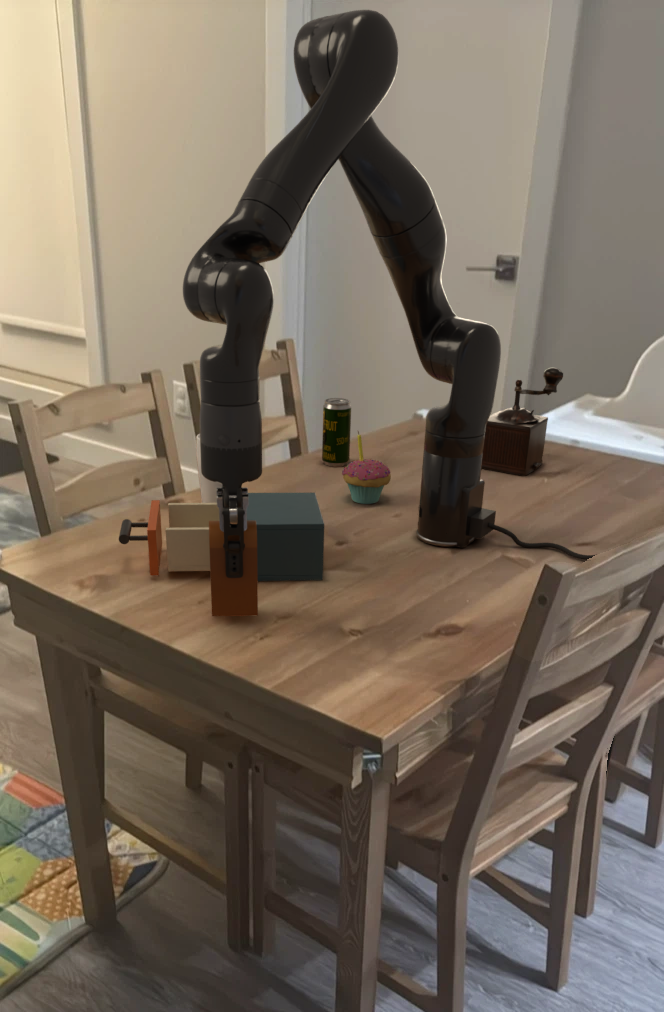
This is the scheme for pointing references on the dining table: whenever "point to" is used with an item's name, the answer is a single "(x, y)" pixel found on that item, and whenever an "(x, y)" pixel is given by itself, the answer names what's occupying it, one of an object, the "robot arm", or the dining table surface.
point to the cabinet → (288, 536)
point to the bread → (233, 592)
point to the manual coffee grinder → (518, 433)
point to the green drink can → (336, 432)
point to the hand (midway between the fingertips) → (233, 567)
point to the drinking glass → (205, 480)
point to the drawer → (177, 535)
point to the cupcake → (366, 478)
